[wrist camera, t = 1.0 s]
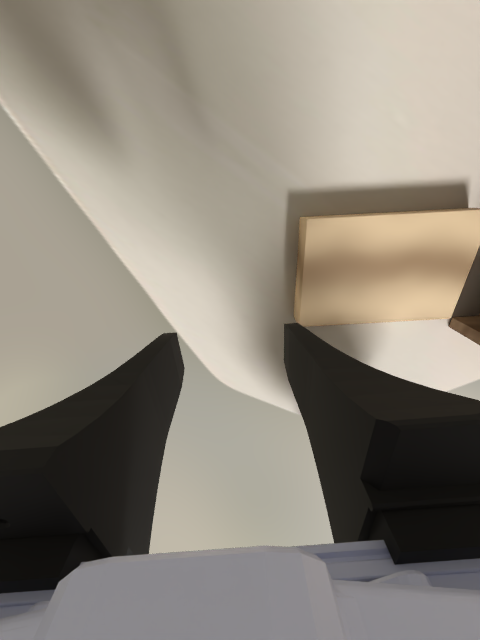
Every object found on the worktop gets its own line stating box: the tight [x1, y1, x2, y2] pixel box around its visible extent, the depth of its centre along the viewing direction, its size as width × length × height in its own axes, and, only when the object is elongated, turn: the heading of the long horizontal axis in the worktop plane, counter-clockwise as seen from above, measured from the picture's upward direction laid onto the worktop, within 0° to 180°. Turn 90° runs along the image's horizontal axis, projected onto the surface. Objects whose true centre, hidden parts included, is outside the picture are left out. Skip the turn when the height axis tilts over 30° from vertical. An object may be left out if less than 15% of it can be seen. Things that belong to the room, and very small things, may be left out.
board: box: [294, 208, 480, 327], centre depth 20 cm, size 8×13×2 cm, turn 93°
